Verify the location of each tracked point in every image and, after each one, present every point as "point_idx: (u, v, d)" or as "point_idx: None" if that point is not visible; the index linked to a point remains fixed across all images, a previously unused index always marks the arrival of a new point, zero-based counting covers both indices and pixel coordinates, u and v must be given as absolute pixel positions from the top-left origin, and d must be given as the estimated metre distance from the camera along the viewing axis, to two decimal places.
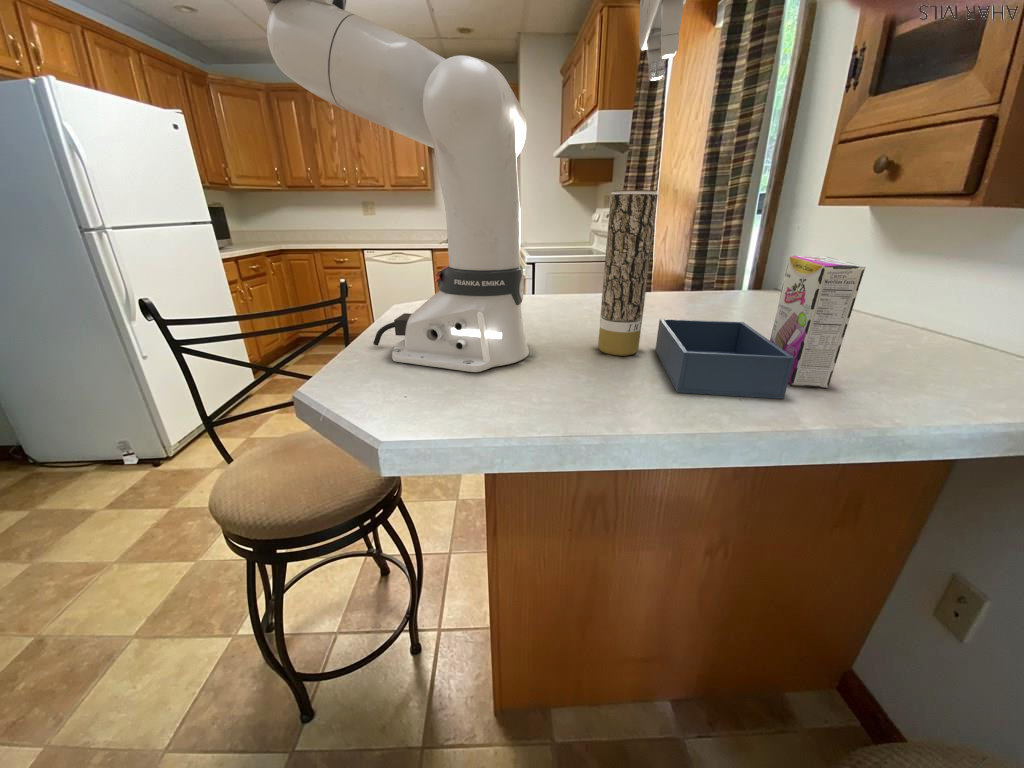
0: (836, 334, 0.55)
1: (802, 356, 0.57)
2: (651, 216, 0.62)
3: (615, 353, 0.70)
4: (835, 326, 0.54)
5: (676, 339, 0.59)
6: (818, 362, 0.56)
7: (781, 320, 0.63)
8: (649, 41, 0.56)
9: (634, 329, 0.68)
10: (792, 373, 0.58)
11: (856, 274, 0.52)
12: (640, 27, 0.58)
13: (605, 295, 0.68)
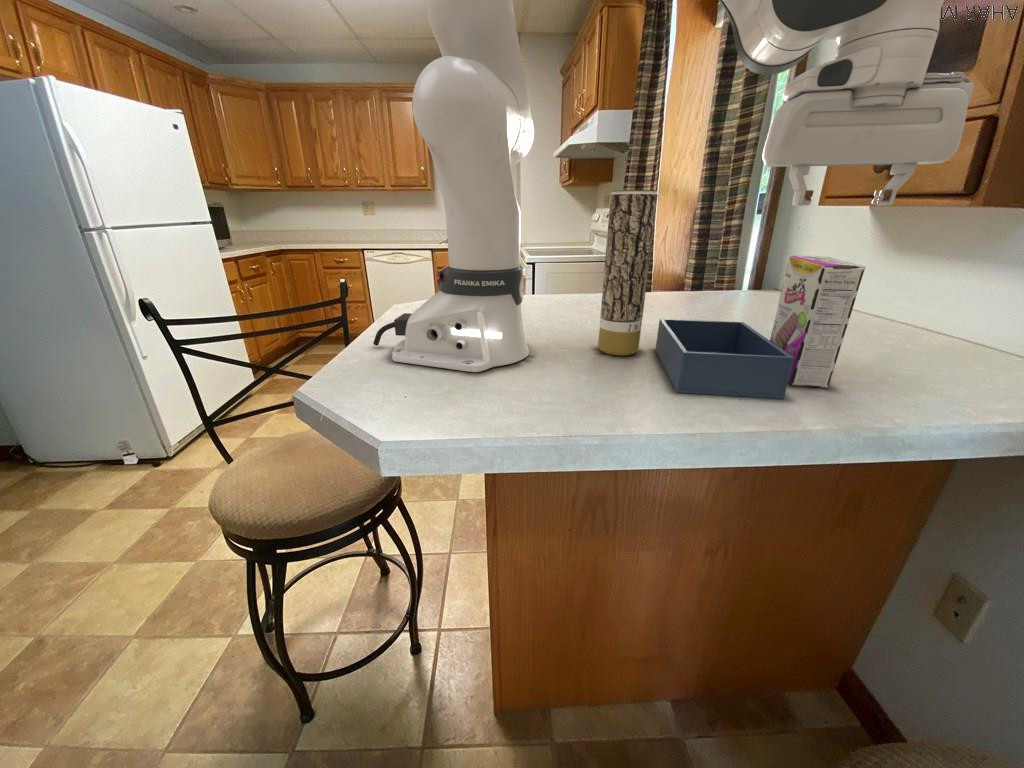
0: (836, 334, 0.55)
1: (802, 356, 0.57)
2: (651, 216, 0.62)
3: (615, 353, 0.70)
4: (835, 326, 0.54)
5: (676, 339, 0.59)
6: (818, 362, 0.56)
7: (781, 320, 0.63)
8: (892, 166, 0.52)
9: (634, 329, 0.68)
10: (792, 373, 0.58)
11: (856, 274, 0.52)
12: None
13: (605, 295, 0.68)
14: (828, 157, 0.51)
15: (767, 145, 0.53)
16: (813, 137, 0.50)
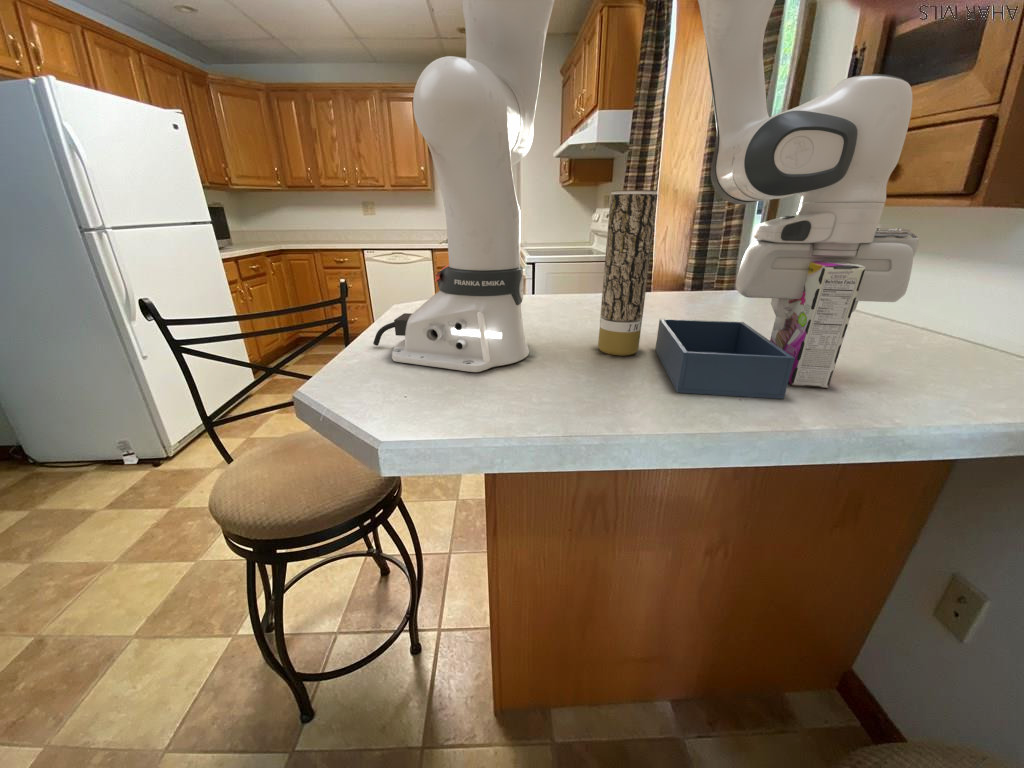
0: (836, 334, 0.55)
1: (802, 356, 0.57)
2: (651, 216, 0.62)
3: (615, 353, 0.70)
4: (835, 326, 0.54)
5: (676, 339, 0.59)
6: (818, 362, 0.56)
7: None
8: None
9: (634, 329, 0.68)
10: (792, 373, 0.58)
11: (856, 274, 0.52)
12: None
13: (605, 295, 0.68)
14: (792, 294, 0.57)
15: (739, 278, 0.60)
16: (779, 277, 0.57)
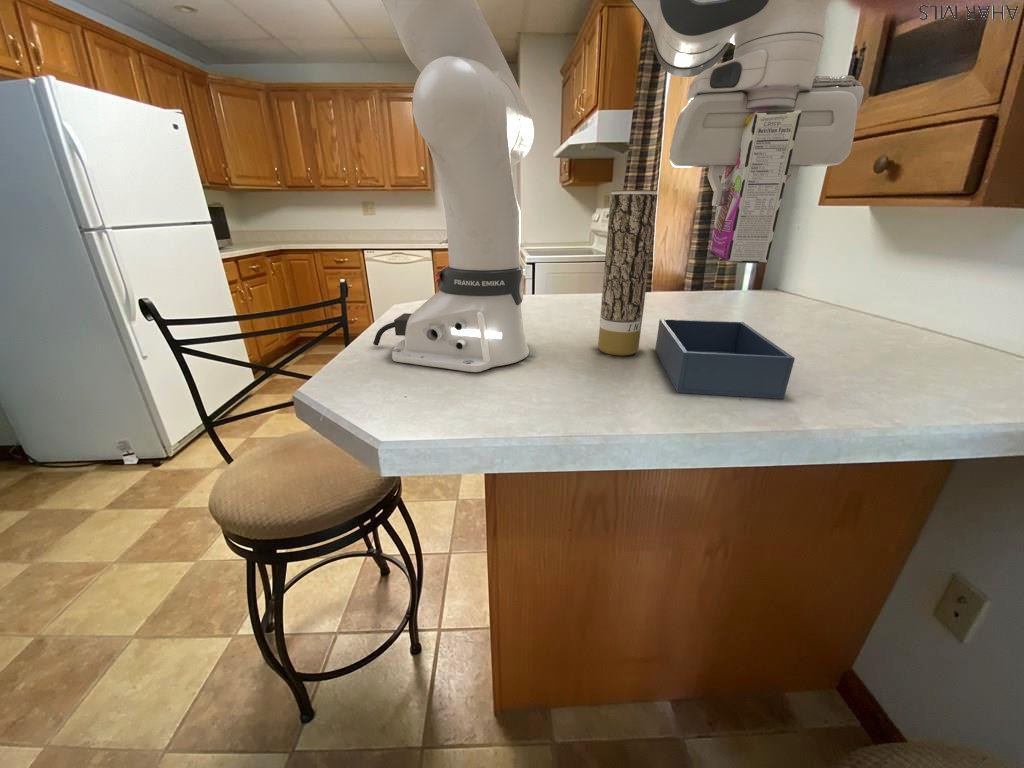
0: (772, 196, 0.49)
1: (738, 226, 0.51)
2: (651, 216, 0.62)
3: (615, 353, 0.70)
4: (772, 185, 0.49)
5: (676, 339, 0.59)
6: (755, 232, 0.51)
7: None
8: None
9: (634, 329, 0.68)
10: (728, 248, 0.53)
11: (792, 119, 0.46)
12: None
13: (605, 295, 0.68)
14: (727, 158, 0.52)
15: (671, 146, 0.54)
16: (712, 138, 0.51)
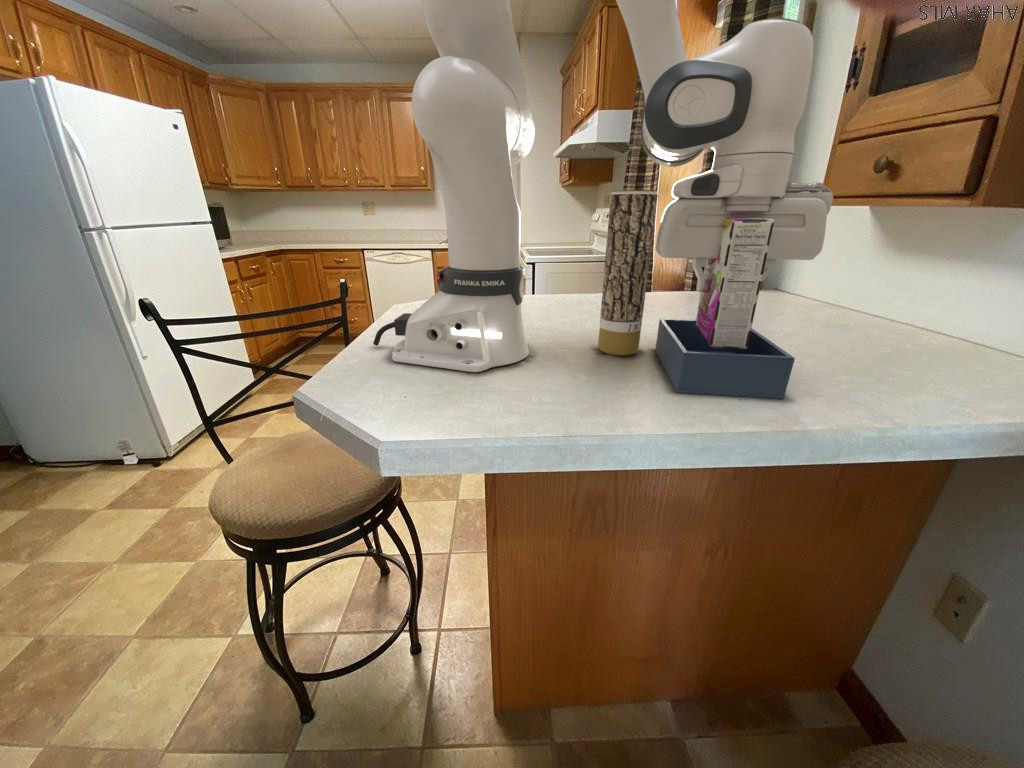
0: (750, 292, 0.53)
1: (719, 316, 0.55)
2: (651, 216, 0.62)
3: (615, 353, 0.70)
4: (749, 283, 0.53)
5: (676, 339, 0.59)
6: (735, 322, 0.55)
7: None
8: None
9: (634, 329, 0.68)
10: (711, 334, 0.57)
11: (766, 228, 0.50)
12: None
13: (605, 295, 0.68)
14: (708, 253, 0.56)
15: (658, 238, 0.58)
16: (694, 235, 0.55)
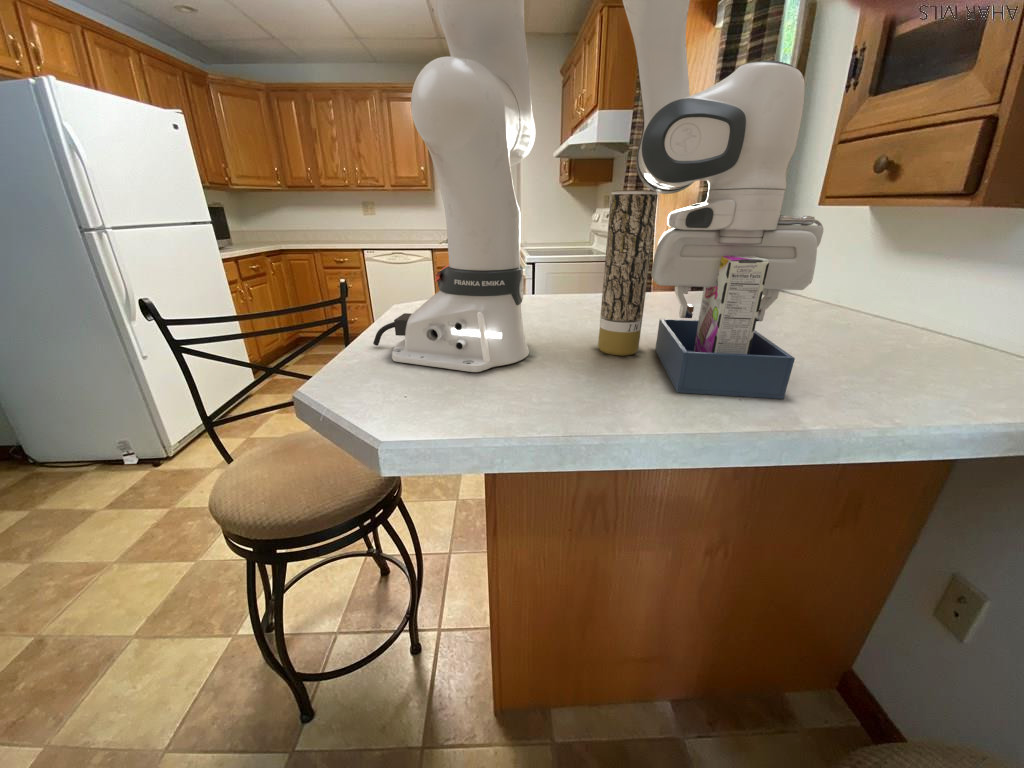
0: (746, 328, 0.55)
1: (716, 350, 0.57)
2: (651, 216, 0.62)
3: (615, 353, 0.70)
4: (745, 320, 0.55)
5: (676, 339, 0.59)
6: None
7: (702, 315, 0.63)
8: None
9: (634, 329, 0.68)
10: None
11: (761, 268, 0.52)
12: None
13: (605, 295, 0.68)
14: (702, 282, 0.57)
15: (653, 266, 0.60)
16: (688, 265, 0.57)
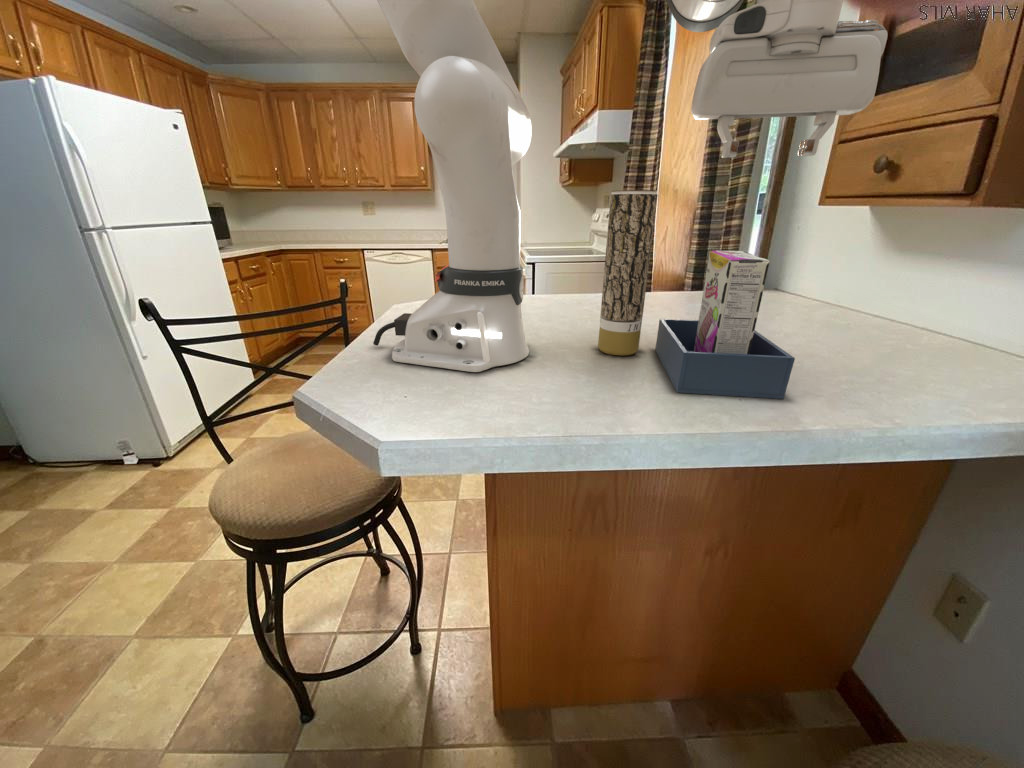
0: (746, 328, 0.55)
1: (716, 350, 0.57)
2: (651, 216, 0.62)
3: (615, 353, 0.70)
4: (745, 320, 0.55)
5: (676, 339, 0.59)
6: None
7: (702, 315, 0.63)
8: (815, 117, 0.54)
9: (634, 329, 0.68)
10: None
11: (761, 268, 0.52)
12: None
13: (605, 295, 0.68)
14: (750, 106, 0.52)
15: (694, 97, 0.55)
16: (735, 86, 0.52)
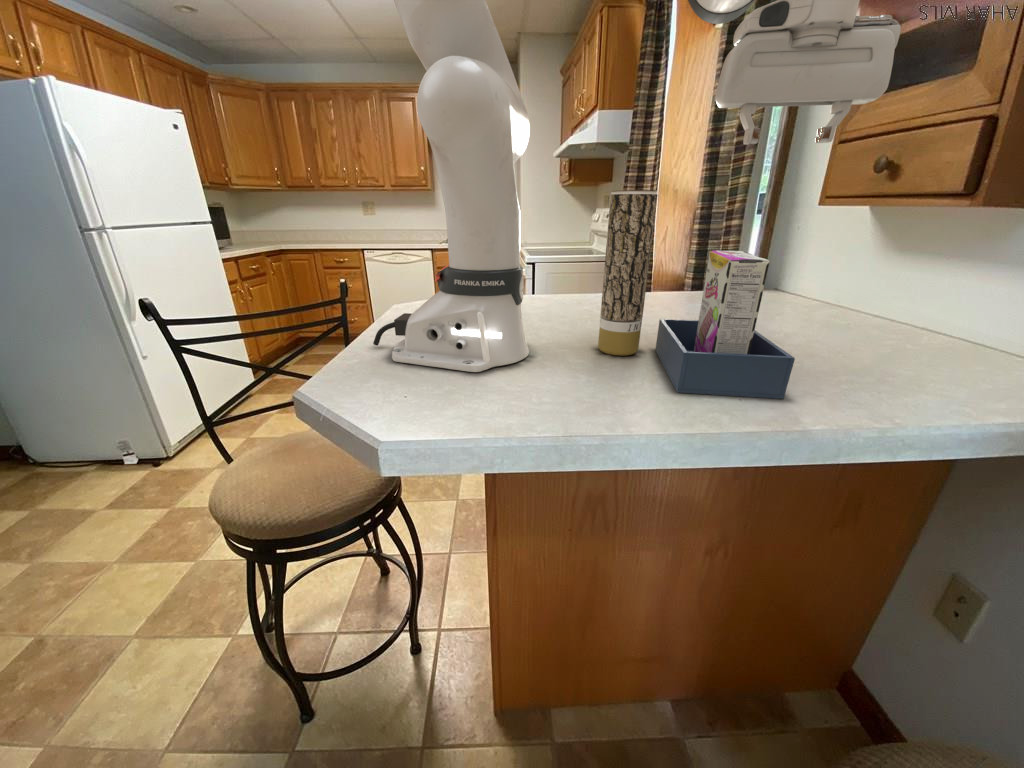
0: (746, 328, 0.55)
1: (716, 350, 0.57)
2: (651, 216, 0.62)
3: (615, 353, 0.70)
4: (745, 320, 0.55)
5: (676, 339, 0.59)
6: None
7: (702, 315, 0.63)
8: (832, 106, 0.57)
9: (634, 329, 0.68)
10: None
11: (761, 268, 0.52)
12: None
13: (605, 295, 0.68)
14: (772, 95, 0.56)
15: (718, 87, 0.58)
16: (758, 76, 0.55)
